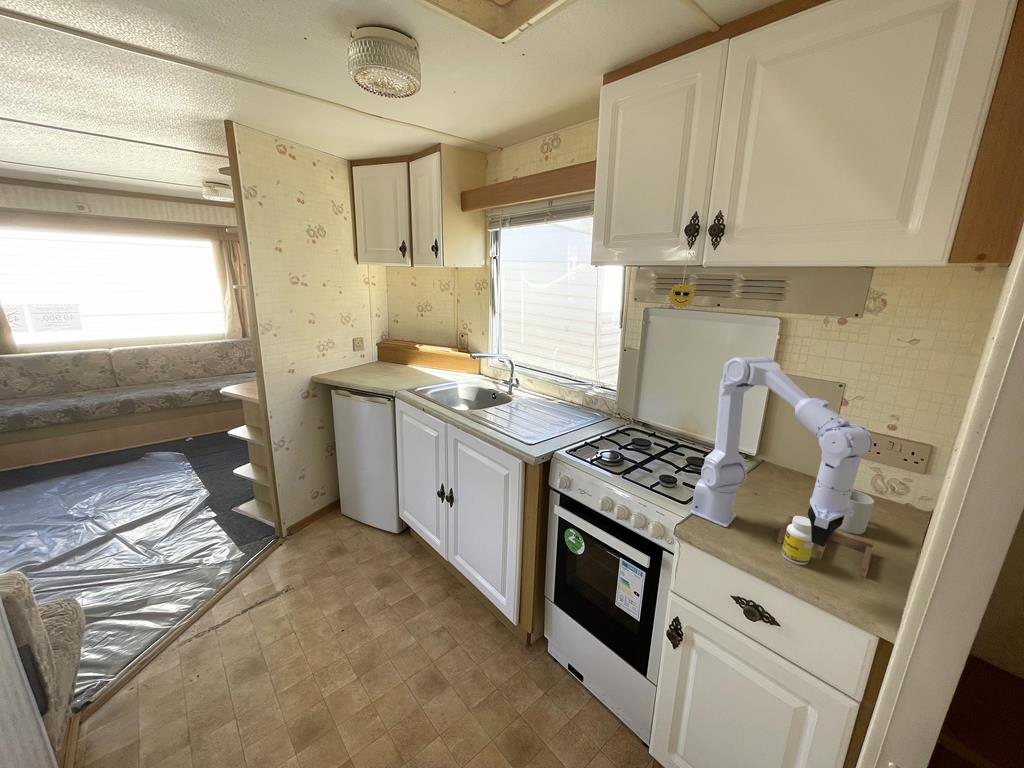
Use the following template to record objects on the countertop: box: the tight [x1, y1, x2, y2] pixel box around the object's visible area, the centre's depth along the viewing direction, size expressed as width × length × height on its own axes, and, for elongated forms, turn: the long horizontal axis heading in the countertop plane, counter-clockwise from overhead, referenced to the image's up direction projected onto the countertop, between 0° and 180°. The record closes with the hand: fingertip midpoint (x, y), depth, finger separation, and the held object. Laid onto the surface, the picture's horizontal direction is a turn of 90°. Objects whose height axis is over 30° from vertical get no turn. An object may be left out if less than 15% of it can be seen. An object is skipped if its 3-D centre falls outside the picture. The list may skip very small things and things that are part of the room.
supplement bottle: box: [781, 515, 814, 566], centre depth 95 cm, size 5×5×10 cm
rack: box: [776, 514, 874, 579], centre depth 100 cm, size 17×12×2 cm
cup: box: [837, 489, 875, 535], centre depth 109 cm, size 7×10×9 cm
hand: (818, 543), depth 86 cm, fingers closed
